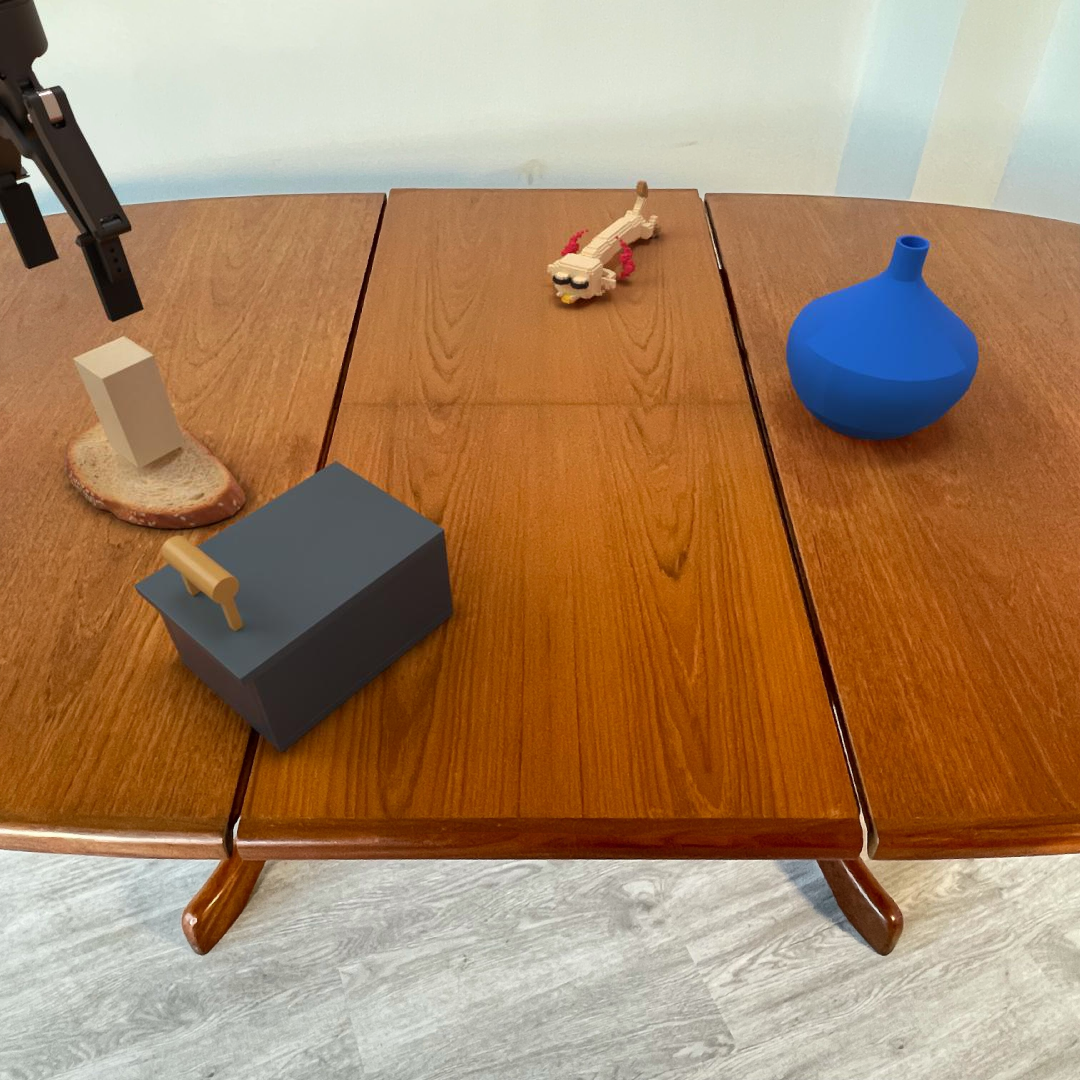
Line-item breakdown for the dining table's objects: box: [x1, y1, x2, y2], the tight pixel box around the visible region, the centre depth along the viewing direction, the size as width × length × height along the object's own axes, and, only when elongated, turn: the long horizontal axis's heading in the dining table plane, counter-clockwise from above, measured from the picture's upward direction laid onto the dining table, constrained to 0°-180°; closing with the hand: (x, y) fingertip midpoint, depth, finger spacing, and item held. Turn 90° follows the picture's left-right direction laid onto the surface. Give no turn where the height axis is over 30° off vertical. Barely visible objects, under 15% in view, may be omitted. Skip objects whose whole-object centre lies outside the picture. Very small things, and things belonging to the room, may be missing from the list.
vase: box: [785, 234, 980, 441], centre depth 87 cm, size 18×18×19 cm
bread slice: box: [64, 420, 247, 530], centre depth 86 cm, size 18×18×4 cm
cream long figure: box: [546, 180, 662, 305], centre depth 115 cm, size 10×9×25 cm
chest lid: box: [133, 460, 446, 686], centre depth 63 cm, size 19×13×6 cm
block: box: [72, 335, 185, 468], centre depth 81 cm, size 5×5×10 cm
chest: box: [159, 536, 454, 754], centre depth 69 cm, size 18×13×9 cm
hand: (82, 287), depth 73 cm, fingers open, 13 cm apart
